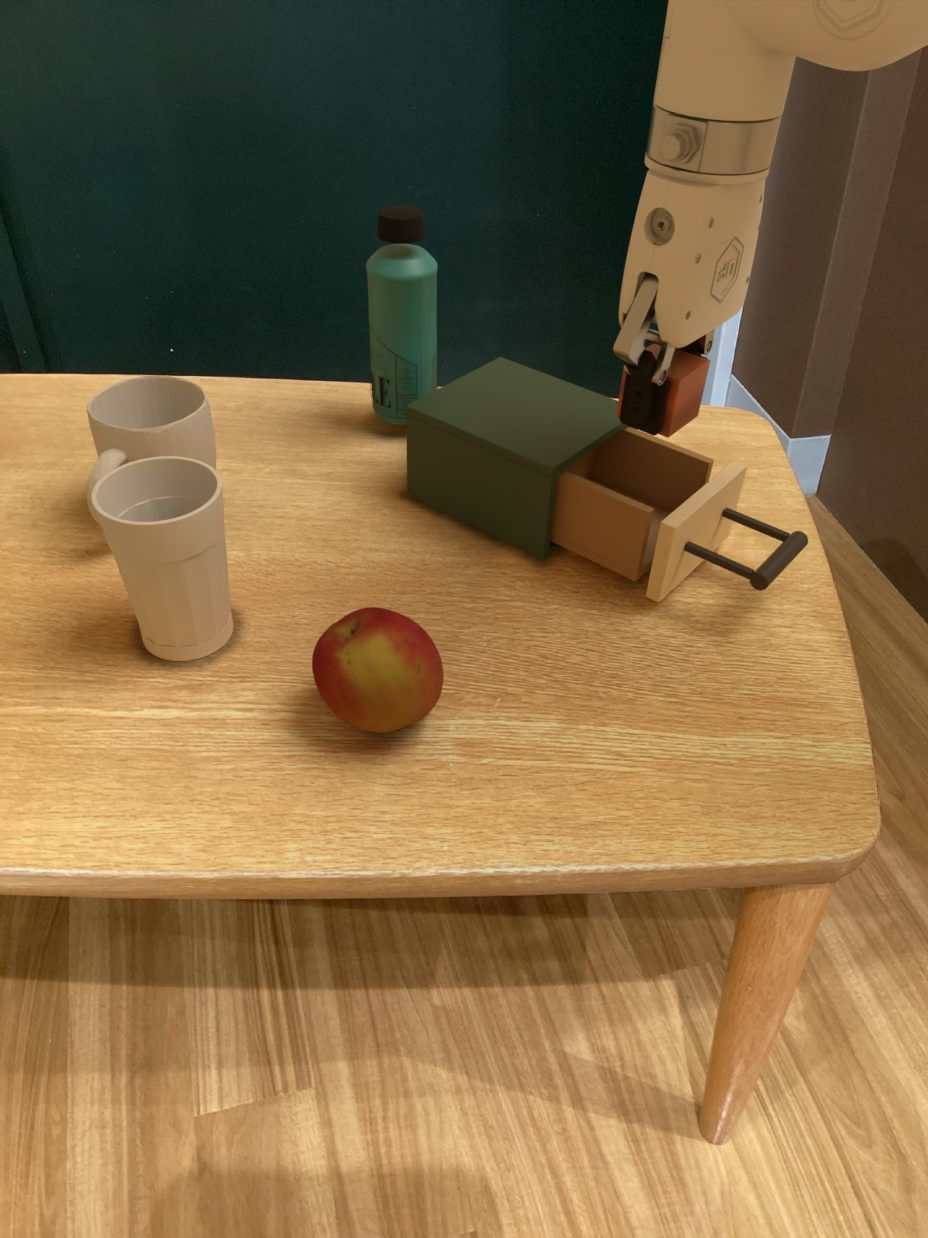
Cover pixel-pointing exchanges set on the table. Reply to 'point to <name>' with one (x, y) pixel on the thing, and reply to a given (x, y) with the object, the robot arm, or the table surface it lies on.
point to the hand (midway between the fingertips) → (658, 412)
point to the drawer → (657, 513)
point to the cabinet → (503, 448)
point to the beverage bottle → (401, 314)
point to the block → (679, 389)
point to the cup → (170, 552)
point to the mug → (149, 424)
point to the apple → (377, 670)
